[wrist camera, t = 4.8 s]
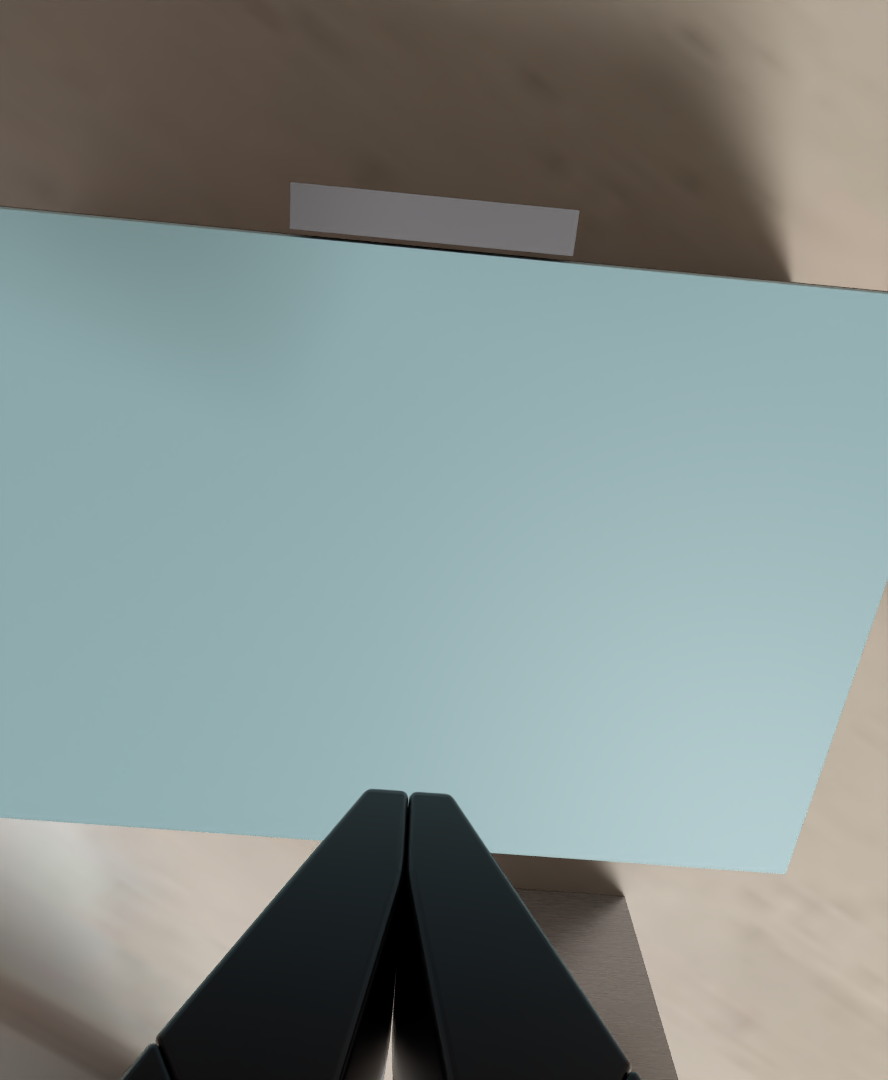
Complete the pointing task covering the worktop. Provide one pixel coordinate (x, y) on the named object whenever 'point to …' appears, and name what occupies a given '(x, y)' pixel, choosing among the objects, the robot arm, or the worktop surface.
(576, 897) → the block
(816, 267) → the worktop surface
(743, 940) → the worktop surface
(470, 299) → the lid
